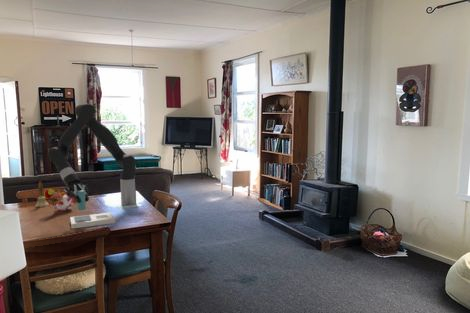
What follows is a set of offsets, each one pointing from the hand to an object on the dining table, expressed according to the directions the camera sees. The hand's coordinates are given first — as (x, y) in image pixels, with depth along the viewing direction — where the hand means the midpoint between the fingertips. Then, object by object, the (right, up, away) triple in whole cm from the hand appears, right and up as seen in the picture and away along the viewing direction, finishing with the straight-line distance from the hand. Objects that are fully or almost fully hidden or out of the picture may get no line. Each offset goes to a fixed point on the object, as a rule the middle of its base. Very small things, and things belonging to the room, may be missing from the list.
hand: (83, 201), depth 196 cm
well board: (+3, -13, +5) cm, 14 cm away
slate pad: (-2, -10, +2) cm, 10 cm away
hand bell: (-46, -8, +44) cm, 64 cm away
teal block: (-2, -4, +2) cm, 5 cm away
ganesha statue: (-26, -10, +29) cm, 41 cm away
